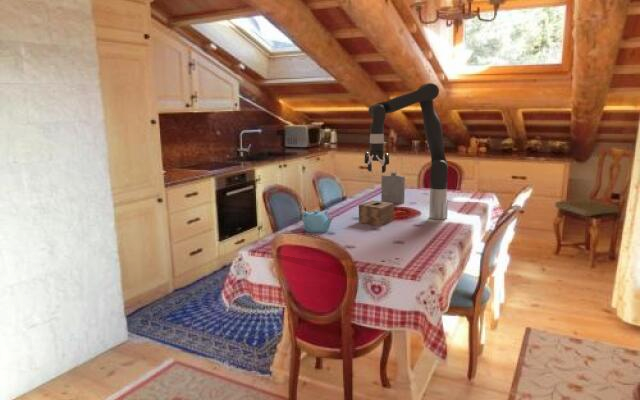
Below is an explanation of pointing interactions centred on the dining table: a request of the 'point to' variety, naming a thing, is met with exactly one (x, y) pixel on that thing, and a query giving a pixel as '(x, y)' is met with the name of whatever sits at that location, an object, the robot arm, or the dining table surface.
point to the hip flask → (393, 188)
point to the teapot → (316, 221)
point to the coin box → (376, 213)
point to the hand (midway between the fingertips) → (376, 171)
